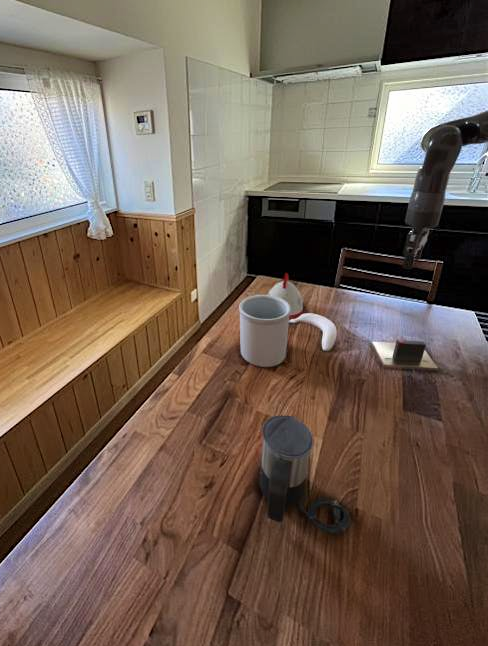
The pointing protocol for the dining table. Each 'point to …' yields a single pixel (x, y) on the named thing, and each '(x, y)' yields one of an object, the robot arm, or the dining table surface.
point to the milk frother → (292, 473)
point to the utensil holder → (264, 329)
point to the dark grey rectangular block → (409, 350)
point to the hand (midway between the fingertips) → (411, 263)
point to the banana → (323, 324)
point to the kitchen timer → (289, 296)
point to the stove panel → (386, 358)
